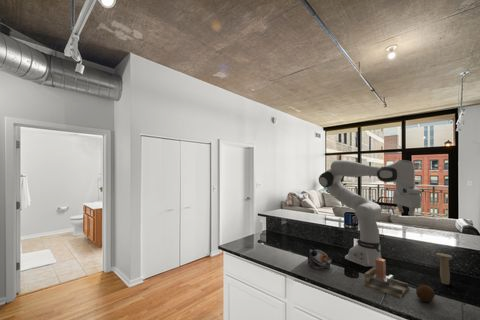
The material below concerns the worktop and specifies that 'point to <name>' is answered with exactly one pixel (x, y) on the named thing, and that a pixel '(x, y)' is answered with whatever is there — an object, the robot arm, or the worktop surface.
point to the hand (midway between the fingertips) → (405, 214)
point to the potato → (425, 293)
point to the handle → (444, 267)
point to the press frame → (395, 289)
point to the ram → (382, 273)
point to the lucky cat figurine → (318, 259)
